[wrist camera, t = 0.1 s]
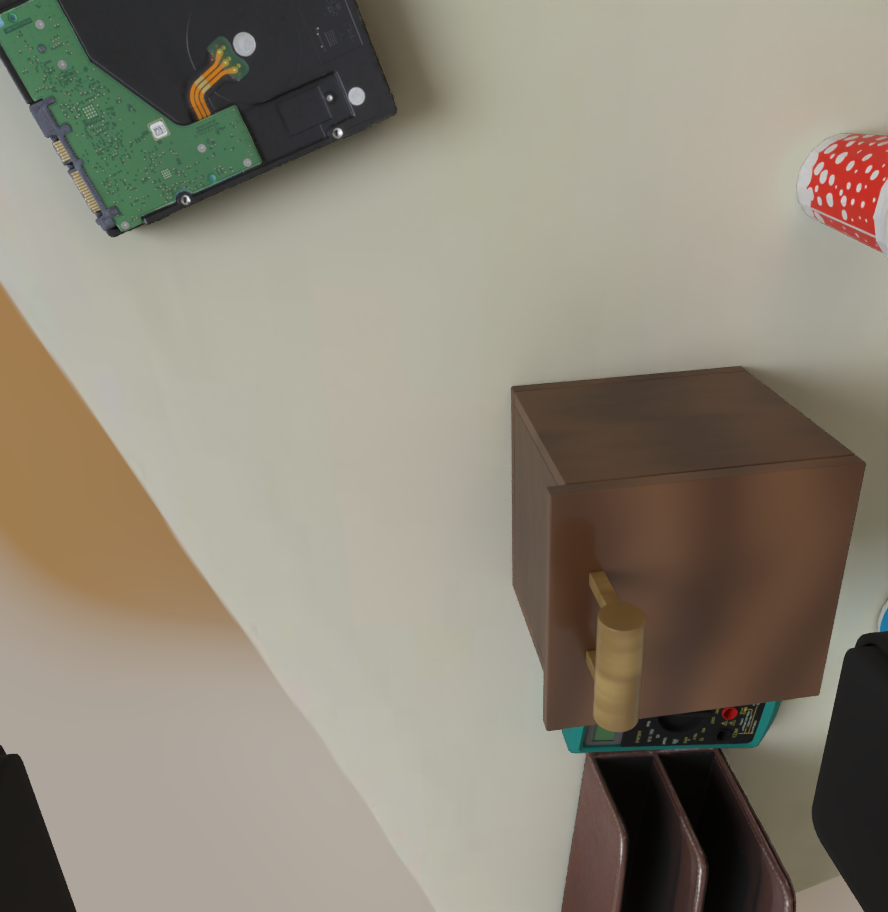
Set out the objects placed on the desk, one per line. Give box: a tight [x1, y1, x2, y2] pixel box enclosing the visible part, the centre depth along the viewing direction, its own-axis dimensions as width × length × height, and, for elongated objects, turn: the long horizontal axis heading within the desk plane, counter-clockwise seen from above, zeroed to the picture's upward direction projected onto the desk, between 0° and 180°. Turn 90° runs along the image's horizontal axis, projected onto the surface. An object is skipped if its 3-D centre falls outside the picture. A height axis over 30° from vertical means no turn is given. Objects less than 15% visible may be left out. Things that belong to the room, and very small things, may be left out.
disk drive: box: [0, 0, 397, 237], centre depth 38 cm, size 10×3×15 cm
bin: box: [511, 366, 855, 671], centre depth 46 cm, size 14×14×12 cm
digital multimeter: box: [562, 700, 781, 753], centre depth 58 cm, size 7×15×3 cm, turn 84°
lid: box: [543, 455, 866, 732], centre depth 38 cm, size 14×14×6 cm
